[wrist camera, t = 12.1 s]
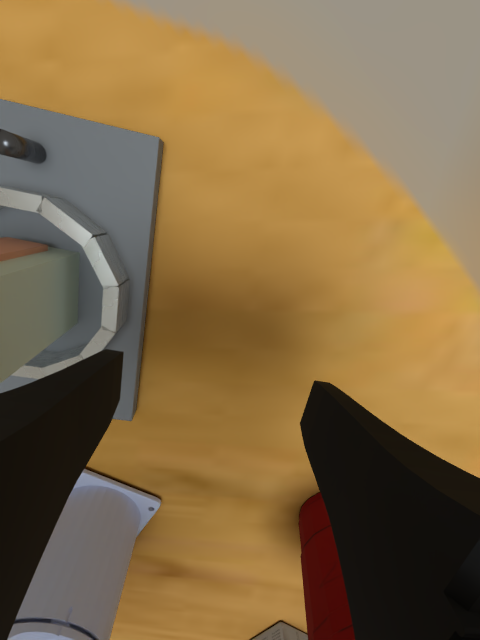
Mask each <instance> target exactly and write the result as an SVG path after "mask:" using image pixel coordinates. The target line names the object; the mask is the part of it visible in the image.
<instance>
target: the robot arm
mask: <svg viewBox="0 0 480 640" xmlns="http://www.w3.org/2000/svg"><path fill="white" fill-rule="evenodd" d="M123 355H124V352H122V351H116V350H109V349H105V350H102V351H100V352H98V353H96V354H94V355H92V356H89V357H87V358H85V359H83V360H81V361H79V362H77V363H75V364H73V365H71V366H68V367H66V368H64V369H62V370H60V371H57V372H55V373H53V374H50V375H48V376H46V377H43V378H41V379H38V380H36V381H34V382H31V383H29V384H26V385H23V386H21V387H18V388H15V389H12V390H9V391H6V392H3V393H0V640H109V639H110V636H111V632H112V628H113V624H114V620H115V616H116V613H117V609H118V605H119V601H120V597H121V593H122V590H123V586H124V582H125V578H126V574H127V571H128V567H129V563H130V559H131V555H132V551H133V548H134V544H135V540H136V537H137V536H138V534H139V533H140V532H141V531H142V529H143V528H144V527H145V525H146V524H147V523H148V521H149V520H150V519H151V518H152V516H153V515H154V514H155V512H156V511H157V510H158V508H159V507H160V504H161V500H160V499H159V498H157V497H154V496H152V495H149V494H147V493H144V492H142V491H139V490H137V489H134V488H132V487H129V486H127V485H124V484H122V483H119V482H117V481H114V480H112V479H109V478H107V477H104V476H102V475H99V474H97V473H94V472H92V471H89V470H87V469H84V468H85V466H86V465H87V463H88V461H89V460H90V458H91V456H92V454H93V453H94V451H95V449H96V448H97V446H98V444H99V442H100V441H101V439H102V437H103V435H104V434H105V432H106V430H107V428H108V427H109V425H110V423H111V420H112V418H113V416H114V413H115V411H116V408H117V406H118V403H119V401H120V393H121V381H122V368H123ZM300 426H301V431H302V437H303V441H304V446H305V449H306V452H307V455H308V458H309V461H310V464H311V467H312V470H313V473H314V475H315V478H316V481H317V484H318V487H319V490H320V492H321V495H322V498H323V501H324V504H325V507H326V510H327V513H328V516H329V520H330V524H331V528H332V532H333V536H334V540H335V544H336V548H337V552H338V557H339V561H340V566H341V570H342V575H343V579H344V584H345V589H346V594H347V599H348V604H349V609H350V614H351V620H352V625H353V630H354V636H355V640H480V478H478V477H476V476H474V475H472V474H470V473H468V472H466V471H464V470H462V469H460V468H458V467H456V466H454V465H452V464H450V463H449V462H447V461H445V460H443V459H441V458H439V457H438V456H436V455H434V454H432V453H430V452H429V451H427V450H425V449H424V448H422V447H421V446H419V445H417V444H416V443H414V442H412V441H411V440H409V439H407V438H406V437H404V436H403V435H401V434H400V433H398V432H397V431H395V430H394V429H393V428H391V427H390V426H388V425H387V424H385V423H384V422H383V421H381V420H380V419H378V418H377V417H376V416H374V415H373V414H372V413H370V412H369V411H368V410H366V409H365V408H364V407H362V406H361V405H360V404H358V403H357V402H356V401H354V400H353V399H352V398H350V397H349V396H348V395H347V394H345V393H344V392H342V391H341V390H340V389H338V388H337V387H335V386H334V385H332V384H330V383H328V382H321V381H314V383H313V386H312V389H311V392H310V395H309V398H308V401H307V404H306V407H305V410H304V413H303V416H302V419H301V422H300Z"/></svg>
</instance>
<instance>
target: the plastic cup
mask: <svg viewBox="0 0 480 640" xmlns="http://www.w3.org/2000/svg"><path fill="white" fill-rule="evenodd" d="M299 519H300V520H299V531H300V541H301V552H302V553H301V565H302V576H303V587H304V599H305V610H306V621H307V632H308V640H355V636H354V630H353V625H352V620H351V614H350V609H349V604H348V599H347V594H346V589H345V584H344V579H343V575H342V570H341V566H340V561H339V557H338V552H337V548H336V544H335V540H334V536H333V532H332V528H331V524H330V520H329V516H328V513H327V510H326V507H325V504H324V501H323V498H322V495H321V493H318V494H316V495H314V496H313V497H311V498H309V499H308V500H307V501H306V502H305V504H304V505H303V506H302V507H301V511H300V514H299Z"/></svg>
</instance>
